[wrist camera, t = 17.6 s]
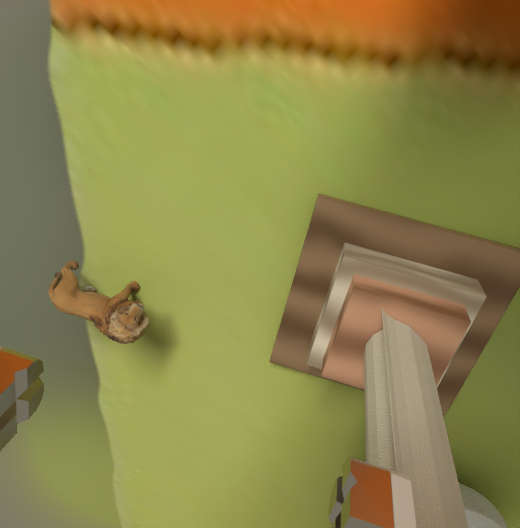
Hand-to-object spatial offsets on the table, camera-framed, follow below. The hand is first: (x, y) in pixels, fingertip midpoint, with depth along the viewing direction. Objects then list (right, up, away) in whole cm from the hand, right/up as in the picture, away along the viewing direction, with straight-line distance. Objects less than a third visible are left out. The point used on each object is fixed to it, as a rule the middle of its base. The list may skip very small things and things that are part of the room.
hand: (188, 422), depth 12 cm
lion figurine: (-16, +2, +45) cm, 48 cm away
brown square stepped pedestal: (+16, -1, +39) cm, 42 cm away
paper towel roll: (+15, -4, +33) cm, 36 cm away
